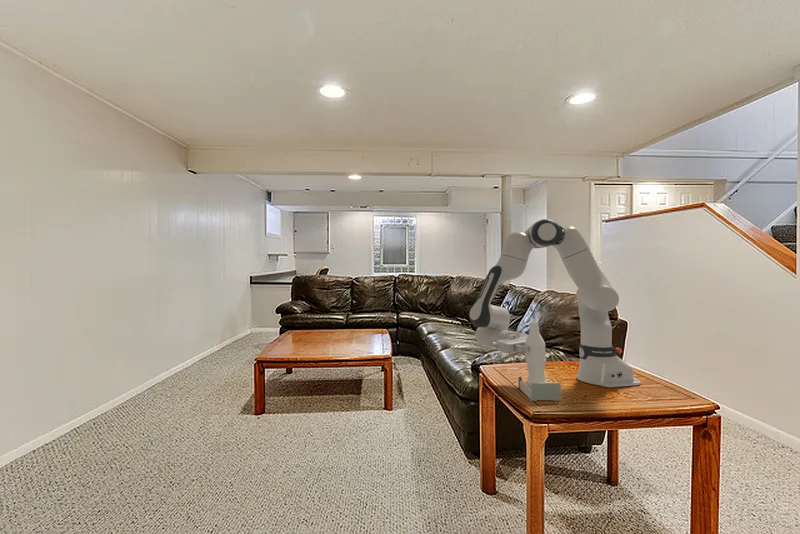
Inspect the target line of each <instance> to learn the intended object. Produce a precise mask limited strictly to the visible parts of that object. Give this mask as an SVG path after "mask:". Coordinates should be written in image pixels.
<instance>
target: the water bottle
mask: <svg viewBox="0 0 800 534" xmlns="http://www.w3.org/2000/svg"><path fill="white" fill-rule="evenodd" d="M528 330H529V333H528V337H527V339H526V341H525V346H527V347H530V349H529V350H530V351H529V352H525V363H526V365H527V370H528V371H527V372H528V374H527V378H526V381H525V382H526V383H525V384H526V385H527V386H528V387H529V388H530V389H531V383H547V382H548V381H547V379H545V378H546V376H545V367H546V364H547V359H546V358H547V357H546V343H545V340H544V338H543V337H542V335H541V333H540V326H539V322H538V321H537V322H536V321H530V322H529V328H528ZM546 381H547V382H546Z"/></svg>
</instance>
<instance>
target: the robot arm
mask: <svg viewBox="0 0 800 534" xmlns="http://www.w3.org/2000/svg"><path fill="white" fill-rule="evenodd" d="M551 246H552V247H553V248H554V249H556V251H557V252H558V253H559V256H560V258H561V260H562V263H563V265H564V267H565V269H566V271H567V273H568V276H569V277H570V279H571V280H572V282H574V284H575V286H576V287H577V289H576V293H575V296H576V300H577V308H578V314H579V320H580V321H579V322H580V323H579V324H580V343H579V358H580V359H579V366H578V371H577V374H576V376H575V377H576V379H577V380H578V381H581V382H583V383H587V384H591V385H595V386H596V385H597V386H601V387H604V388H605V387H606V388H619V387H630V386H631V387H633V386H641V385H642V384H641V381H640V379H638V378H636V377H634V372H633V369H632V368H633V367H632V366H631V365H629V364H628V363H627V362H626V361H624V360H623V359H622V358H620V357H619V356H618V355H617V353H618V354H622V353H623V350H622V348H620V347H615V346H613V344H612V342H613V339H612V337H613V333H612V331H613V330H612V329H613V328H612V327H613V326H612V324H611V321H610V316H609V312H610V311H613V310H614V309H616V307H618V304H619V302H620V297H619V294H618V293H617V291H616V290H615V289H614V288H613V286H612V285H611V283H610V281H609V280H608V278H607V277H606V275H605V274H604V272H603V271H602V269H601V268H600V266H599V265H598V263H597V261H596V260H595V257H594V255H593V253H592V251H591V249H590V247H589V245H588V242H587V241H586V239H585V237H583V235H582V233H581V232H580V231H579V230H578V228H577V227H574V226H565V227H563V226H561V225H560V224H558V223H557V222H555V221H554V220H552V219H547V218H544V219H543V218H542V219H539V220H537V221H535V222H534V223H532V224H531V225H530V226H529V227H528V228H527V230H525V232H522V231H513V232H511V233H510V234H509V235H508V236H507V238H506V240H505V243H504V245H503V247H502V250H501V252H500V256H499V259H498V261H497V262H496V264H495V265H494V266H493V267H491V268H490V269H489V271H488V273H487V274H486V277H485V279H484V281H483V284H482V286H481V288H480V290H479V293H478V295H477V298H476V299H475V301H474V303H473V304H472V305H471V307H470V309H469V313H468V315H469V321H470V322H471V324H472V325H473V326H474V327H475V328H476V330H475V333H474V336H475V339H476V341H477V342H478V344H479V345H480V346H483V347H485V348H488V349H491V350H497V351H499V352H501V353H505V354H513V353H518V352H523V353H526V352H529V351H530V350H529V349H530V347H527V346H525V341H526V339H527V337H528V335H529V333H528V334H527V333H526V332H524V331H513V330H509V328H510V325H511V314H510V312H509V310H508V309H507V307H504V306H498V305H493V304H491V303H492V300H493V298H494V296H495V294H496V292H497V289H498V288H499V286H500V285H501V284H502V283H504V282H509V281H511V280H516V279H518V278H519V277H521V276H522V275H523V273H524V272H525V270H526V267H527V264H528V260H529V257H530V254H531V252H532V251H533V249H544V248H548V247H551Z"/></svg>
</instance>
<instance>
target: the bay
mask: <svg viewBox="0 0 800 534" xmlns="http://www.w3.org/2000/svg"><path fill="white" fill-rule="evenodd" d="M545 379H546V377H545ZM546 382H547V383H531V389H530V388H529V387H528V386H527V384H526V383H525V381H523V377H522V376H518V388H519V389H520V390H521V391H522V392H523V394H525V395H526V396H527V397H528V398H529V400H530V401H532V402H535V401H536V402H538V401H537V400H553V401H552V402H554V401H555V402H561V398H562V397H561V395H562V393H561V392H562V391H561V382H555V381H552V382H548V381H547V379H546Z"/></svg>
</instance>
